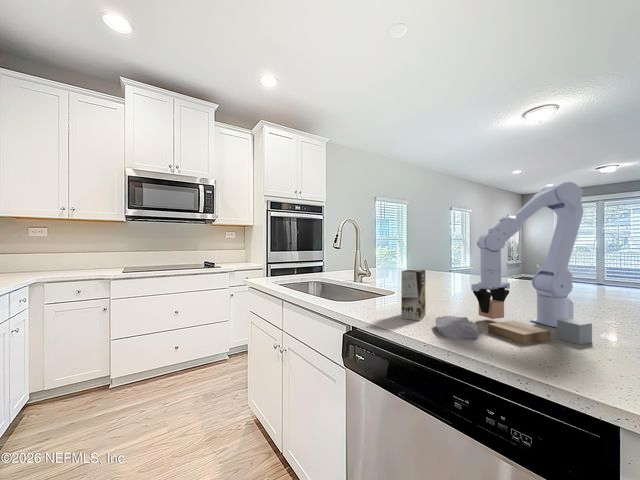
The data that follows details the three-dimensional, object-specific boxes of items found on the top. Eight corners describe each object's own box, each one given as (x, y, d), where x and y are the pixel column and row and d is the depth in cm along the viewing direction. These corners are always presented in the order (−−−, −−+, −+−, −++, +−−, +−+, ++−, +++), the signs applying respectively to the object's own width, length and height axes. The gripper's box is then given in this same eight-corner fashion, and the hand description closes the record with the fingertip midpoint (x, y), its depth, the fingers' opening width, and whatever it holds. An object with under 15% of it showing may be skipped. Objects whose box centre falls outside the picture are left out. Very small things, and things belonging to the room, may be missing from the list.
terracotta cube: (489, 313, 94) (489, 298, 94) (504, 317, 89) (503, 301, 89) (478, 315, 92) (478, 300, 92) (492, 319, 87) (492, 303, 87)
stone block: (443, 344, 75) (482, 339, 73) (438, 327, 76) (478, 321, 74) (433, 332, 87) (467, 327, 85) (430, 317, 87) (463, 312, 85)
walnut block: (513, 330, 82) (513, 320, 82) (550, 342, 73) (550, 330, 73) (487, 334, 79) (487, 323, 79) (523, 346, 70) (523, 334, 70)
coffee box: (420, 321, 91) (420, 271, 91) (400, 318, 94) (400, 270, 94) (426, 315, 98) (426, 269, 98) (407, 312, 102) (407, 268, 102)
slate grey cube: (569, 336, 76) (569, 318, 76) (592, 342, 72) (591, 323, 72) (557, 338, 75) (557, 319, 75) (579, 345, 70) (579, 325, 70)
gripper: (495, 268, 97) (496, 307, 97) (463, 269, 92) (463, 310, 92) (515, 270, 90) (516, 312, 90) (482, 271, 85) (482, 316, 85)
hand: (491, 311), depth 90 cm, fingers closed on terracotta cube, 5 cm apart
